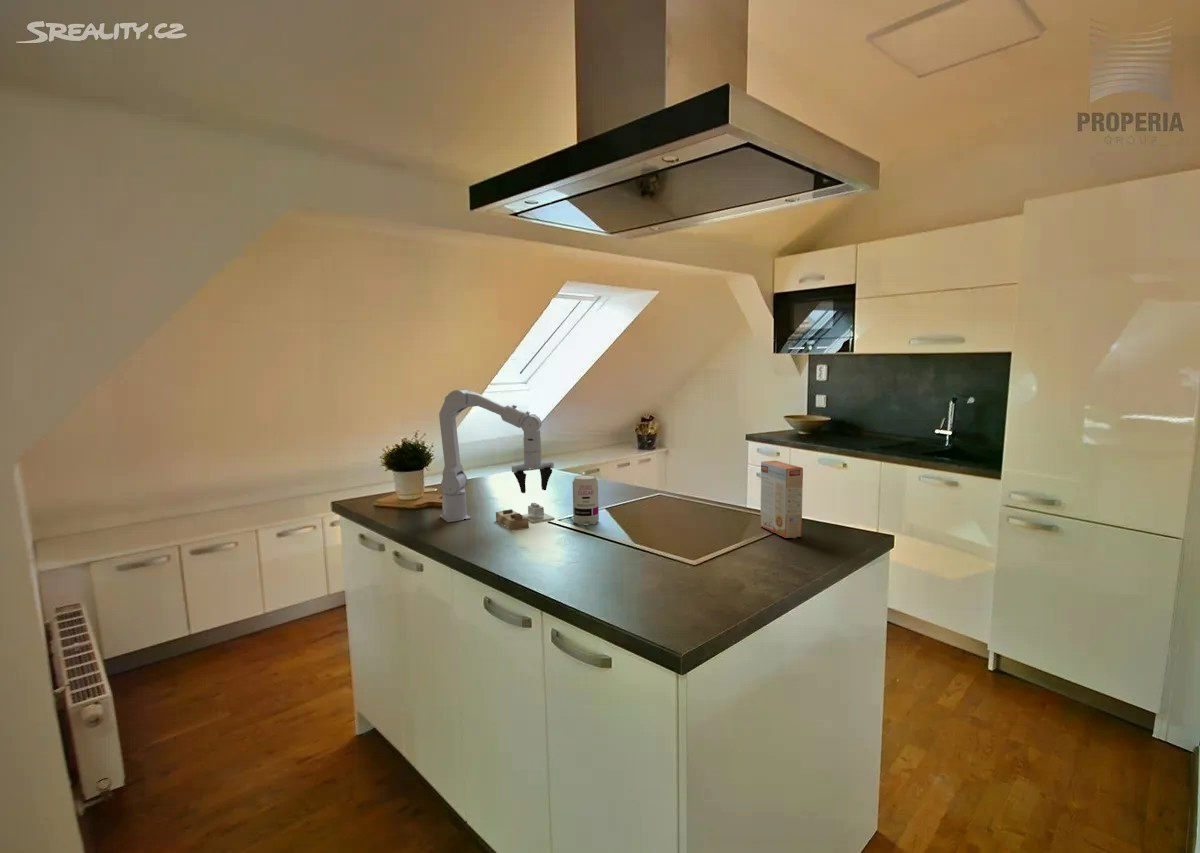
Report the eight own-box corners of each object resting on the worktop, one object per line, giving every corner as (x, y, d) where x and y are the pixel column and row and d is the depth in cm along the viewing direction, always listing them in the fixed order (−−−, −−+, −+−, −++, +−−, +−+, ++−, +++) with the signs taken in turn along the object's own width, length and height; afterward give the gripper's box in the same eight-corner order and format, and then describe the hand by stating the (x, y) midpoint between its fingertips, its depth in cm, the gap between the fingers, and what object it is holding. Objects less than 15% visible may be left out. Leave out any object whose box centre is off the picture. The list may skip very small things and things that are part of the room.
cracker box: (803, 538, 167) (804, 467, 165) (784, 540, 166) (785, 468, 163) (776, 525, 181) (777, 459, 178) (759, 527, 179) (760, 460, 177)
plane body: (496, 520, 193) (495, 509, 192) (511, 518, 196) (511, 506, 195) (512, 530, 181) (512, 518, 180) (528, 527, 184) (528, 515, 183)
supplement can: (590, 517, 195) (589, 473, 193) (603, 523, 188) (602, 477, 186) (569, 521, 190) (568, 476, 189) (581, 527, 183) (580, 480, 182)
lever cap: (528, 515, 196) (527, 503, 196) (537, 514, 198) (537, 502, 197) (534, 519, 192) (534, 506, 191) (543, 517, 194) (543, 505, 193)
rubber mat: (520, 516, 197) (520, 515, 197) (541, 513, 201) (541, 511, 201) (532, 523, 189) (532, 521, 189) (554, 519, 193) (554, 517, 193)
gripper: (517, 454, 185) (518, 496, 187) (557, 450, 193) (558, 490, 194) (508, 452, 191) (510, 492, 193) (547, 448, 199) (549, 486, 200)
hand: (533, 491), depth 194 cm, fingers open, 7 cm apart
